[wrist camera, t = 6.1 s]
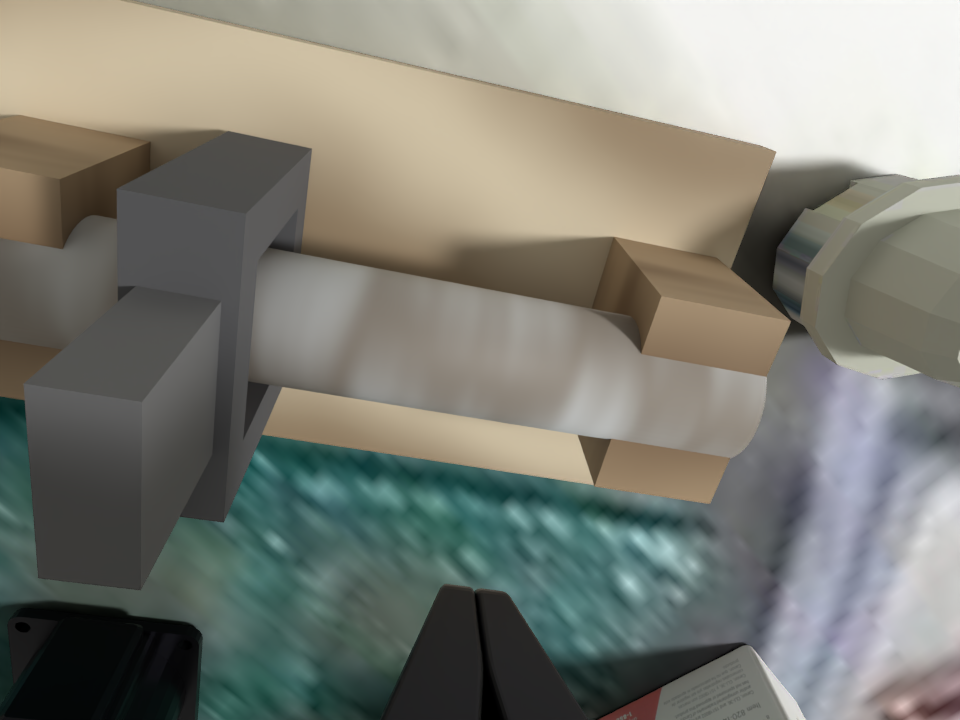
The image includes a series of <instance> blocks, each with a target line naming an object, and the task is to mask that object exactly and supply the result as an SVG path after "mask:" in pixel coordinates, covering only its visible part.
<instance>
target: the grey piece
mask: <svg viewBox="0 0 960 720" xmlns="http://www.w3.org/2000/svg"><path fill="white" fill-rule="evenodd" d="M772 288H773V290H774V291H775V293H776V294H777V296H778V298H779V299H780V301H781V302H782V304H783V306H784V307H785V309H786V310H787V312H788V314H789V315H790V317H791V318H792V319H794V320H796V321H797V322H799V323H800V324H802V325H804V326H805V328H806V329H807V331H808V333H809V334H810V336H811V337H812V339H813V341H814V342H815V344H816V346H817V347H818V349H819V350H820V352H821V354H822V355H823V356H825V357H826V358H828V359H829V360H831V361H833V362H834V363H836V364H837V365H839V366H842V367H845V368H848V369H851V370H855V371H858V372H861V373H864V374H867V375H870V376H873V377H876V378H879V379H882V380H883V379H889V378H894V377H900V376H906V375H912V374H918V373H923V374H925V375H927V376H929V377H932V378H934V379H936V380H939V381H942V382H945V383H948V384H951V385H954V386H957V387H960V175H954V176H946V177H938V178H931V179H923V180H918V179H914V178H910V177H906V176H902V175H898V174H897V175H889V176H881V177H873V178H866V179H858V180H850V186H849V189H847V190H846V191H844V192H843V193H841V194H839V195H838V196H836V197H834V198H833V199H831V200H829V201H828V202H826V203H825V204H823V205H821V206H820V207H818V208H816V209H815V210H810V209H808V208H805V209H804V211H803V212H802V214H801V215H800V216H799V218H798V219H797V221H796V222H795V223H794V225H793V226H792V228H791V229H790V230H789V232H788V233H787V235H786V236H785V237H784V239H783V240H782V242H781V243H780V244H779V246H778V247H777V254H776V262H775V270H774V279H773V287H772Z"/></svg>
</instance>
